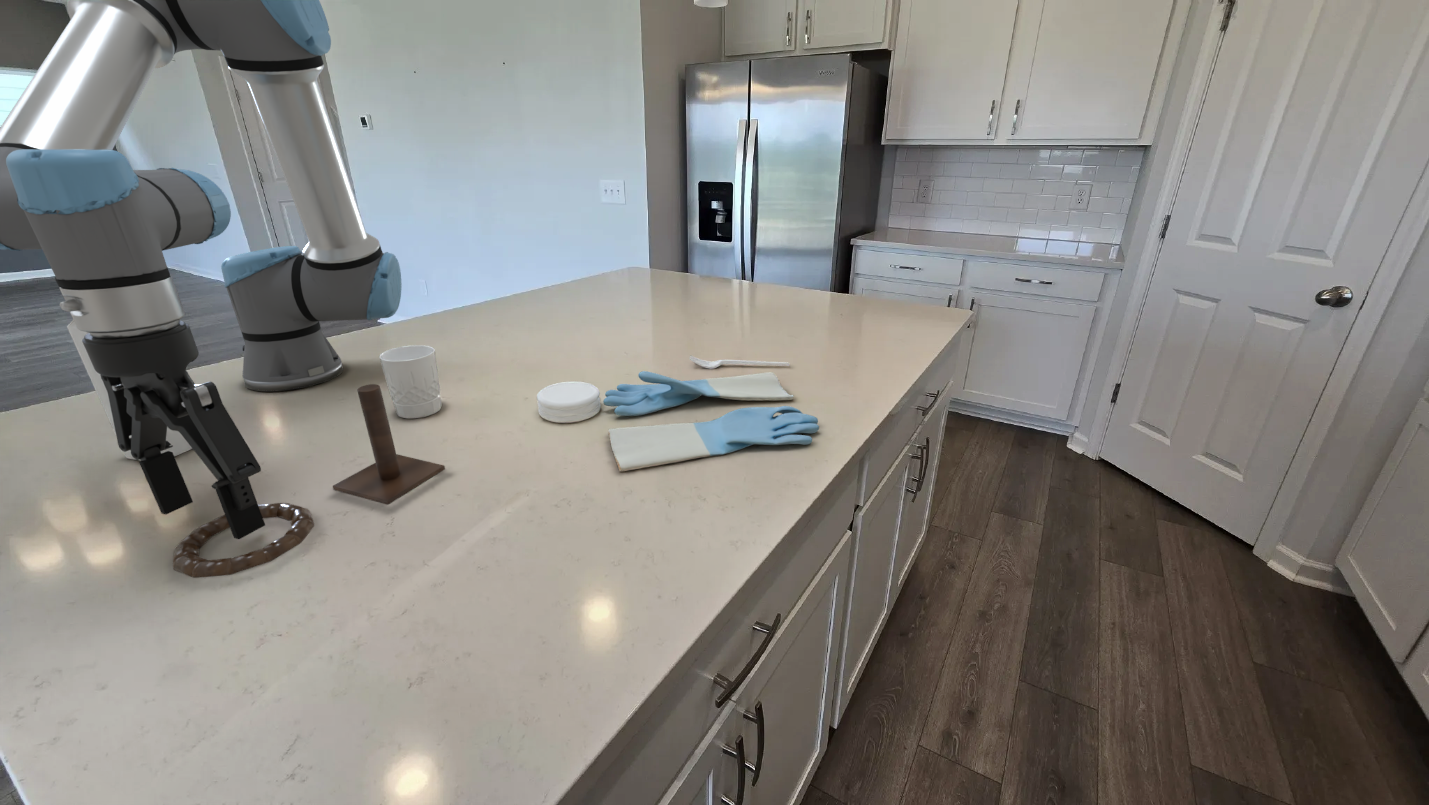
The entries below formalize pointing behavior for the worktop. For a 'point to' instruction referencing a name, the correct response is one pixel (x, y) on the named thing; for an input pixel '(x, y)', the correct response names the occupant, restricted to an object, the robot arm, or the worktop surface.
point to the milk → (77, 335)
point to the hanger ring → (196, 566)
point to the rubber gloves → (703, 437)
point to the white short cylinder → (568, 402)
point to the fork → (733, 362)
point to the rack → (384, 458)
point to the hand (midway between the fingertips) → (212, 519)
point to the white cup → (412, 380)
